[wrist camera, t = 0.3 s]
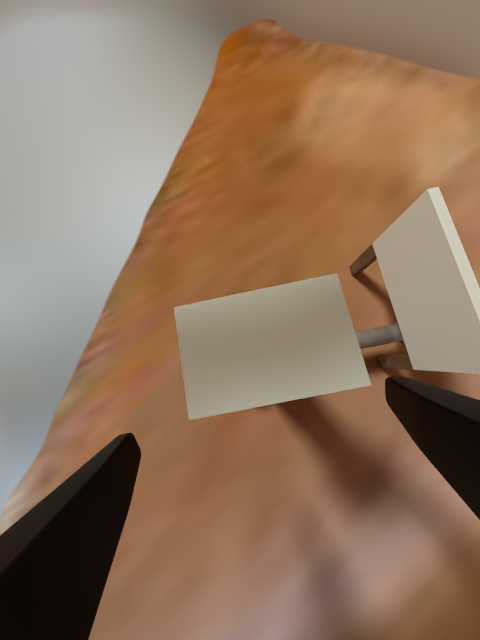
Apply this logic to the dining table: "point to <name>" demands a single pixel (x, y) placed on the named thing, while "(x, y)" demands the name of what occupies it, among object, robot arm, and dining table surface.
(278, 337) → the block-topped post frame
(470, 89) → the dining table surface
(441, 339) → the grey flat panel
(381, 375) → the dining table surface
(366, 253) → the peg stand
